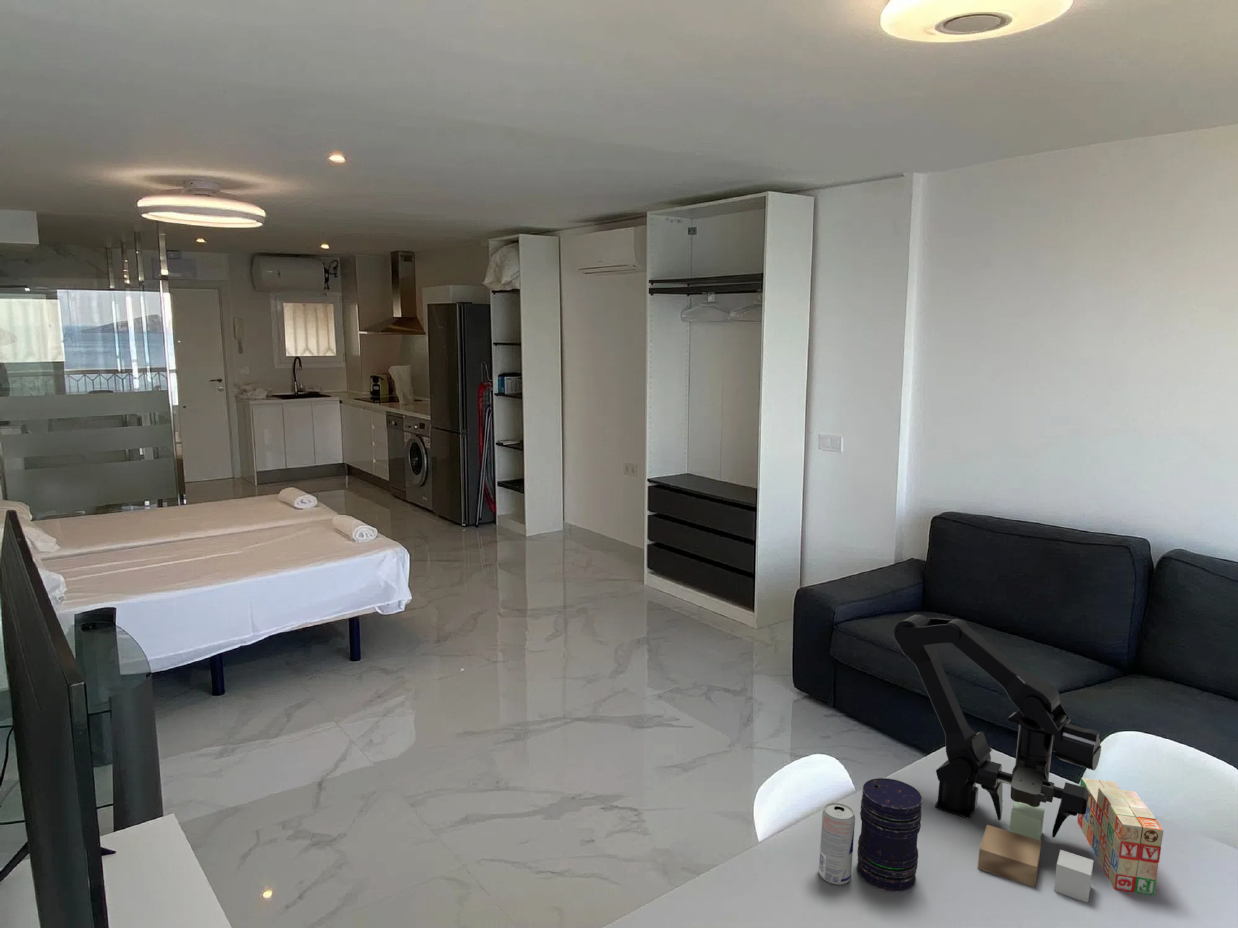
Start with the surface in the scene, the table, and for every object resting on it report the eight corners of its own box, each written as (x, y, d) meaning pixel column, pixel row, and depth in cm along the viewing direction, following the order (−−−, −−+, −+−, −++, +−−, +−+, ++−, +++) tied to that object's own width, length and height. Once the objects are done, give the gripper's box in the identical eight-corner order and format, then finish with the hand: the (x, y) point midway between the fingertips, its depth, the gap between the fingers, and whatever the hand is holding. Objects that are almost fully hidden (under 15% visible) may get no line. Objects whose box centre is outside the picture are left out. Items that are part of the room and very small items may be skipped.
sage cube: (1008, 836, 153) (1011, 811, 152) (1013, 823, 157) (1015, 799, 156) (1038, 845, 150) (1041, 820, 149) (1042, 832, 154) (1044, 808, 153)
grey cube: (1053, 891, 137) (1056, 863, 136) (1057, 876, 141) (1060, 849, 141) (1087, 902, 134) (1091, 875, 134) (1090, 887, 138) (1093, 860, 138)
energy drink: (851, 870, 141) (856, 805, 139) (849, 888, 136) (854, 822, 134) (820, 863, 143) (824, 799, 141) (817, 881, 138) (821, 815, 136)
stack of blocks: (1075, 821, 158) (1082, 761, 157) (1111, 826, 157) (1118, 766, 155) (1114, 890, 138) (1122, 822, 136) (1155, 896, 136) (1164, 828, 135)
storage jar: (925, 873, 141) (932, 792, 139) (901, 900, 134) (908, 815, 132) (871, 848, 147) (877, 771, 145) (845, 873, 140) (851, 792, 138)
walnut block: (977, 869, 143) (979, 848, 142) (985, 844, 150) (987, 824, 150) (1034, 888, 138) (1036, 866, 137) (1039, 861, 146) (1041, 840, 145)
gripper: (971, 751, 150) (964, 830, 152) (1087, 783, 139) (1078, 867, 141) (983, 729, 159) (976, 804, 161) (1093, 758, 148) (1084, 837, 151)
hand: (1026, 827), depth 153 cm, fingers open, 9 cm apart
